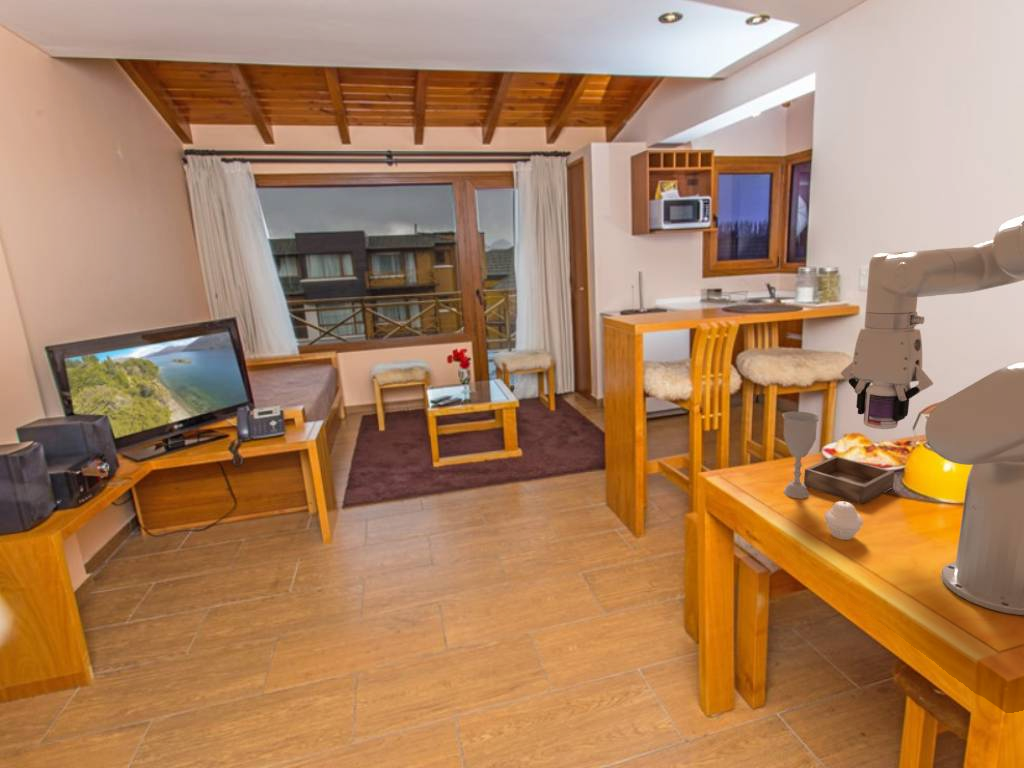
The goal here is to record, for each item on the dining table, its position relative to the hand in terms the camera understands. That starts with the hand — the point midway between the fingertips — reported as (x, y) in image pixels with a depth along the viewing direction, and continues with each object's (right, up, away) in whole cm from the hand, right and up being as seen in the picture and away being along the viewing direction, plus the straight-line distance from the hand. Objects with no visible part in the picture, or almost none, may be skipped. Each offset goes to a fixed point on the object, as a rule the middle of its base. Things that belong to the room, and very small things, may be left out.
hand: (880, 415), depth 101 cm
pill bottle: (0, -2, +1) cm, 2 cm away
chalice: (-7, -19, +17) cm, 26 cm away
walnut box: (+5, -17, +18) cm, 26 cm away
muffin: (-8, -23, -1) cm, 24 cm away
